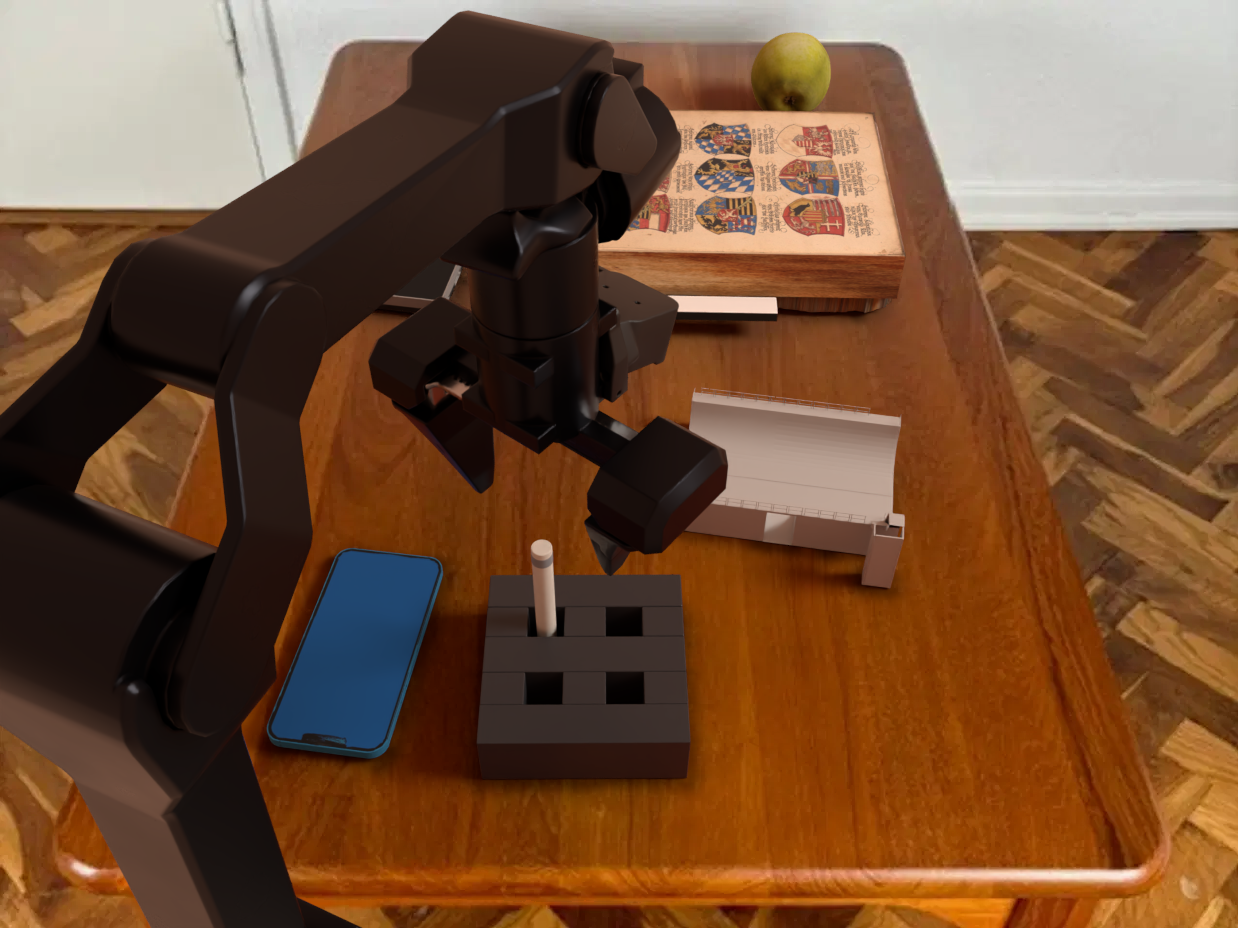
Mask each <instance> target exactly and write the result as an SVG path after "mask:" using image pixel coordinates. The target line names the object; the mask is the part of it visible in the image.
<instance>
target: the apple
mask: <svg viewBox="0 0 1238 928" xmlns="http://www.w3.org/2000/svg"><path fill="white" fill-rule="evenodd" d="M831 69H832V68H831V60H830V57H829V54H828V52H827V50H826V49H825V47H824V45H823V44H822V43H821V42H820V40H818V39H817V38H816V37H815V36H814V35H811V34H810V33H805V32H793V31H792V32H785V33H781V34H778V35H777V36H775V37H773V38H771V39H770V40H769V41H767V42H766V43H765V44H764V45H763V46H762V47H761V48H760V50H759V51H758V53H757V55H756V57H755V58H754V61H753V63H752V66H751V71H750V83H751V88H752V93H753V97H754V99H755V101H756V103H757V105H758V107H759V108H760V109H761V111H814V110H815V109H816V108H817V107H819V105H820V104H821V103H822V101H823V100H824V98H825V96H826V94H827V92H828V90H829V87H830V83H831V78H832V70H831Z"/></svg>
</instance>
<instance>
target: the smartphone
mask: <svg viewBox="0 0 1238 928" xmlns="http://www.w3.org/2000/svg"><path fill="white" fill-rule="evenodd" d="M443 576H444V571H443V565H442V563H441V561H440V560H439V559H437V558H436V557H433V556H426V555H417V554H408V553H407V554H406V553H399V552H391V551H384V550H383V551H382V550H373V549H366V548H358V547H357V548H356V547H348V548H345V549H342V550H341V551H339V552H338V553H337V554H336V556H334V560H333V562H332V564H331V567H330V569H329V572H328V574H327V576H326V579H325V581H324V583H323V587H322V588H321V592H320V594H319V596H318V599H317V602H316V603H315V606H314V609H313V612H312V613H311V615H310V618H309V621H308V623H307V625H306V627H305V630H304V633H303V635H302V638H301V641H300V643H299V646H298V648H297V651H296V653H295V656H294V658H293V660H292V662H291V665H290V668H289V670H288V673H287V675H286V677H285V680H284V682H283V684H282V687H281V690H280V692H279V695H278V697H277V699H276V702H275V704H274V707H273V709H272V711H271V714H270V717H269V719H268V721H267V725H266V733H267V735H268V739H269V741H270V742H271V744H272V745H274V746H276V747H279V748H286V749H293V750H300V751H308V752H314V753H315V752H316V753H323V754H330V755H331V754H332V755H339V756H344V757H345V756H346V757H354V758H360V759H361V758H362V759H368V760H369V759H376V758H378V757H380V756H382V755H383V754H384V753H385V752H387V750H388V748H389V747H390V745H391V740H392V738H393V734H394V731H395V729H396V725H397V722H398V719H399V716H400V712H401V709H402V706H403V703H404V700H405V697H406V693H407V690H408V687H409V684H410V681H411V678H412V675H413V672H414V668H415V665H416V662H417V658H418V656H419V652H420V650H421V646H422V642H423V640H424V636H425V634H426V631H427V628H428V624H429V621H430V618H431V615H432V612H433V609H434V605H435V602H436V598H437V596H438V593H439V590H440V587H441V584H442V580H443V578H444V577H443Z"/></svg>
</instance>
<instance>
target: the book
mask: <svg viewBox="0 0 1238 928" xmlns="http://www.w3.org/2000/svg"><path fill="white" fill-rule="evenodd" d="M669 111H670V113H671V115H672V117H673V118H674V120H675V123H676V126H677V130H678V131H679V133H680V134H681V149H680V153H679V158H678V160H677V162H676V163H675V165H674V167H673V169H672V170H671V171H670V173H669V174H668V175H667V177H666V178H665V179H664V181H663V182H662V184H661V185H660V186H659V188H658V189H657V190H656V192H655V193H654V194H653V196H652V197H651V198H650V200H649V201H648V202H647V204H646V205H645V206H644V208H643V209H642V211H641V212H640V213H639V215H638V216H637V217H636V219H635V220H634V221H633V223H632V224H631V225H630V227H629V228H628V229H627V231H626V232H625V233H624V235H623V236H622V237H621V238H620V239H619V240H617V241H613V240H612V241H610V242H606V243H600V244H598V265H599V266H601V267H603V268H605V269H607V270H609V271H613V272H618V273H622V274H624V275H627V276H629V277H631V278H633V279H635V280H637V281H639V282H641V283H643V284H645V285H647V286H649V287H651V288H653V289H655V290H657V291H659V292H661V293H663V294H665V295H667V296H669V297H671V298H673V299H674V300H676V301H677V302H678V304H679V308H678V312H677V315H676V319H675V321H676V320H677V321H678V320H679V321H680V320H681V321H723V322H724V321H725V322H726V321H728V322H729V321H731V322H733V321H734V322H778V314H779V313H778V312H779V311H778V309H784V310H794V311H800V312H807V313H820V312H821V313H829V312H830V313H837V312H838V313H847V312H854V311H857V312H861V313H864V314H866V313H870V312H874V311H876V310H879V309H884V308H886V307H887V305H889V304H890V303H892V301H893V299H895V300H896V299H898V297H899V292H900V287H901V281H902V276H903V273H904V267H905V262H906V257H907V256H906V255H907V254H906V251H905V246H904V242H903V236H902V233H901V228H900V224H899V219H898V213H897V210H896V206H895V200H894V196H893V191H892V187H891V182H890V178H889V177H890V176H889V173H888V169H887V168H888V167H887V164H886V158H885V155H884V150H883V146H882V140H881V136H880V131H879V128H878V123H877V119H876V118H877V117H876V113H875V112H874V111H814V110H812V111H763V110H739V109H738V110H736V109H734V110H731V109H729V110H727V109H725V110H724V109H669Z"/></svg>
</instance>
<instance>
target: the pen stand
mask: <svg viewBox="0 0 1238 928" xmlns="http://www.w3.org/2000/svg"><path fill="white" fill-rule="evenodd" d="M488 586H489V587H488V597H487V598H488V599H487V611H486V622H485V623H486V624H485V634H484V637H485V638H484V648H483V659H482V673H481V684H480V685H481V686H480V697H479V705H478V706H479V709H478V721H477V732H476V733H477V734H476V749H477V756H478V762H479V768H480V775H481V779H482V780H546V779H547V780H551V779H552V780H554V779H556V780H557V779H558V780H559V779H561V780H564V779H565V780H566V779H568V780H570V779H578V780H579V779H687V778H688V772H689V763H690V752H691V728H690V727H691V726H690V708H689V693H688V692H689V691H688V674H687V658H686V642H685V626H684V625H685V624H684V608H683V607H684V605H683V590H682V589H683V588H682V575H681V574H678V573H677V574H675V573H674V574H672V573H671V574H613V575H612V576H609V575H607V574H554V591H555V610H556V629H557V637H537V626H536V613H535V599H534V585H533V574H491V575H490V576H489V585H488Z"/></svg>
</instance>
